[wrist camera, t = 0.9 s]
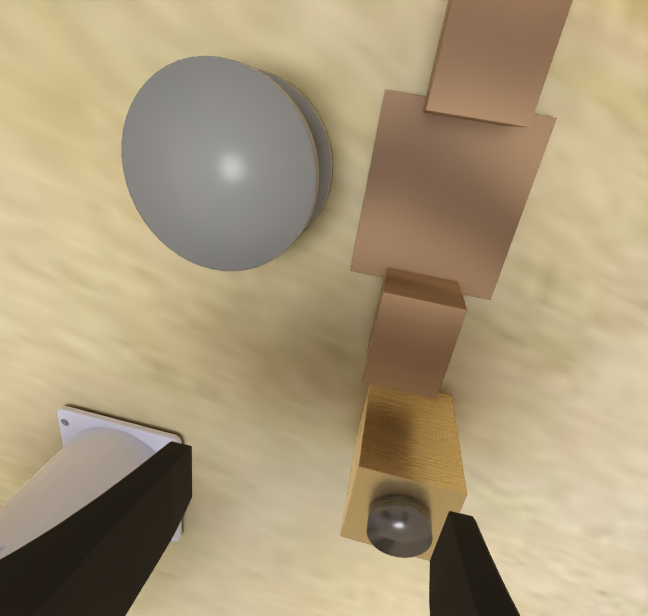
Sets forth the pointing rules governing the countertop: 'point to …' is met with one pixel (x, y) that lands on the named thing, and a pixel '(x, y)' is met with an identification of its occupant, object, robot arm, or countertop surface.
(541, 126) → the notched board
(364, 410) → the golden wooden block
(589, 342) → the countertop surface
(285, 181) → the grey yo-yo
